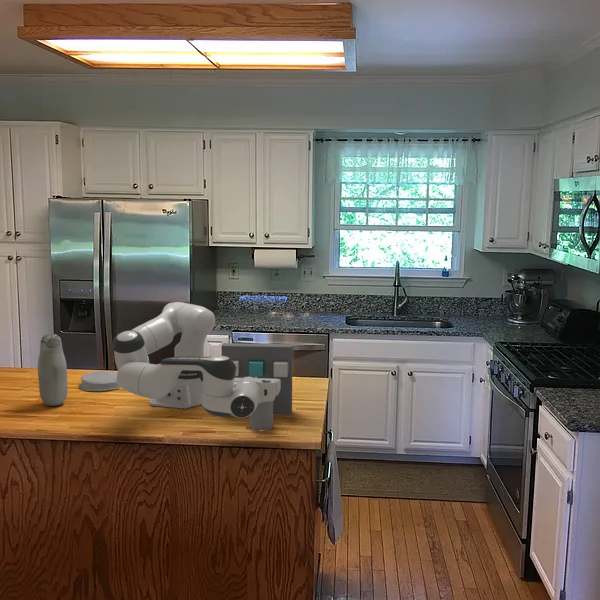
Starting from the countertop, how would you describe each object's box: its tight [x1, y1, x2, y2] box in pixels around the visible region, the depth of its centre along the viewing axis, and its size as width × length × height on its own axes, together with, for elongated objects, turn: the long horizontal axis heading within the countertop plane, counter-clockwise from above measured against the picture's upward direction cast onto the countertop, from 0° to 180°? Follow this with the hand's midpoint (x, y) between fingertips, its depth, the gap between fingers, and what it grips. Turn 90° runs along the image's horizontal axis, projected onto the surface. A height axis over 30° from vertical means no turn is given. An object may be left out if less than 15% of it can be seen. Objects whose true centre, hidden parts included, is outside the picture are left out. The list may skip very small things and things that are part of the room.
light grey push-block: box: [274, 361, 289, 377], centre depth 235 cm, size 5×6×5 cm
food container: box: [79, 369, 122, 392], centre depth 271 cm, size 20×20×7 cm
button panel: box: [220, 342, 294, 416], centre depth 238 cm, size 26×4×26 cm, turn 88°
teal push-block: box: [249, 360, 264, 377], centre depth 236 cm, size 5×6×5 cm
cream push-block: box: [232, 360, 240, 376], centre depth 236 cm, size 5×6×5 cm
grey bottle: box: [37, 333, 69, 407], centre depth 244 cm, size 10×10×28 cm
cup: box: [249, 401, 274, 431], centre depth 226 cm, size 8×8×10 cm
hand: (252, 378), depth 222 cm, fingers closed
